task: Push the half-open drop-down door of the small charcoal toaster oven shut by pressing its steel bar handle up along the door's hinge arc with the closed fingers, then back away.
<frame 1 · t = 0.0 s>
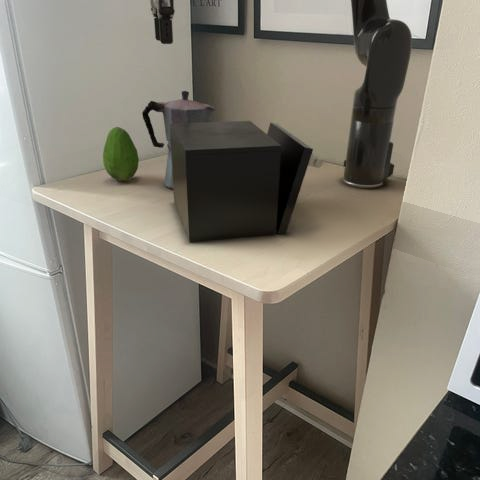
hand: (164, 42, 92), 29 cm above the table, tool pointing down, fingers open, 8 cm apart
avocado: (123, 181, 117), on the table
moka pot: (182, 186, 114), on the table
oven door: (286, 178, 96), point 7 cm above the table, hinge at 14.3°
oven: (221, 219, 97), on the table
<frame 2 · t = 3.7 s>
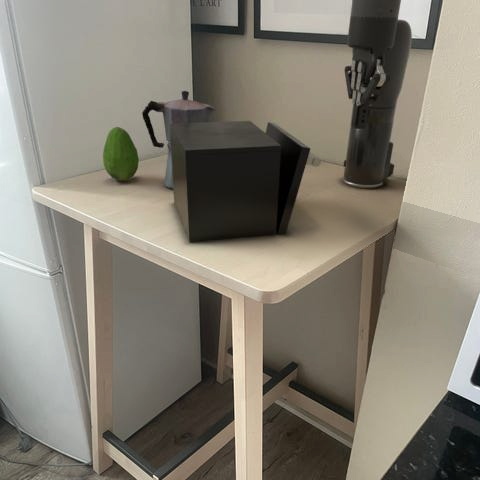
hand: (358, 127, 89), 17 cm above the table, tool pointing down, fingers closed
oven door: (285, 177, 96), point 7 cm above the table, hinge at 12.6°
everything else where it was.
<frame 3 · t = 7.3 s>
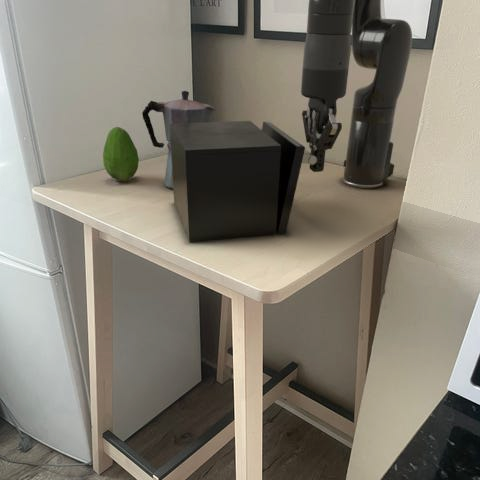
hand: (316, 170, 91), 10 cm above the table, tool pointing down, fingers closed
oven door: (283, 176, 96), point 8 cm above the table, hinge at 8.8°, touching gripper
everything else where it was.
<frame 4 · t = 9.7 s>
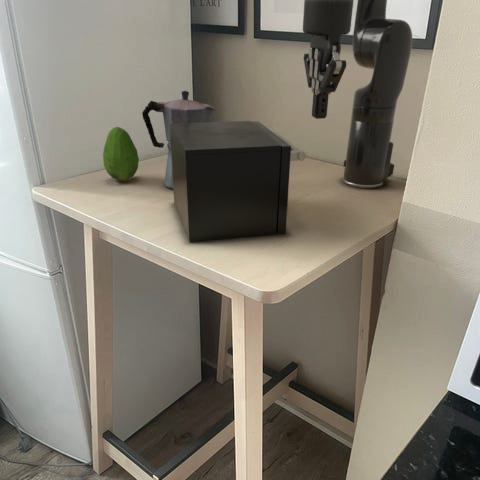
hand: (318, 117, 86), 19 cm above the table, tool pointing down, fingers closed
oven door: (277, 175, 95), point 8 cm above the table, hinge at -0.4°
everything else where it was.
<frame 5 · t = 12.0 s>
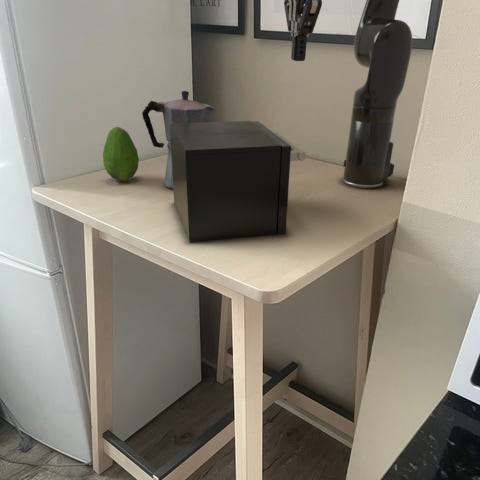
hand: (298, 60, 90), 27 cm above the table, tool pointing down, fingers closed
nothing on the table moved.
at the end: oven door at +0° (first picture: +14°); moka pot moved 0.2 cm from its start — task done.
